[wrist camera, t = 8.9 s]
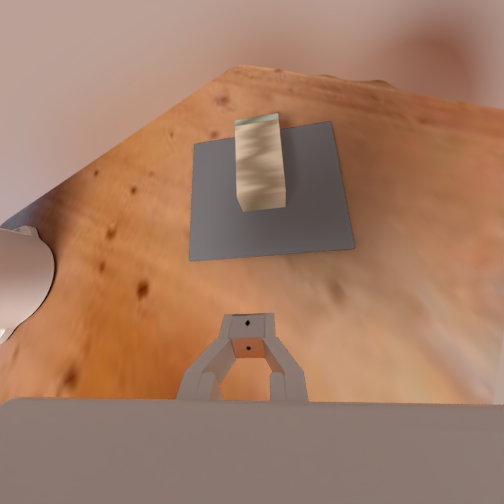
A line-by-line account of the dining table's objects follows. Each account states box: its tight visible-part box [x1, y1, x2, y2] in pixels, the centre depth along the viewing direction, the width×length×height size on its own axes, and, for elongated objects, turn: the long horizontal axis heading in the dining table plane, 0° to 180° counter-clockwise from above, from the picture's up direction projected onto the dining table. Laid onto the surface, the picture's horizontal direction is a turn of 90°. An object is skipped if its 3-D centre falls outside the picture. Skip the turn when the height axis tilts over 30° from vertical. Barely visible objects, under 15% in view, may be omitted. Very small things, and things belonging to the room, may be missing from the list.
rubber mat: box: [189, 121, 355, 262], centre depth 28 cm, size 22×20×1 cm
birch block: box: [235, 113, 286, 212], centre depth 27 cm, size 6×4×12 cm
